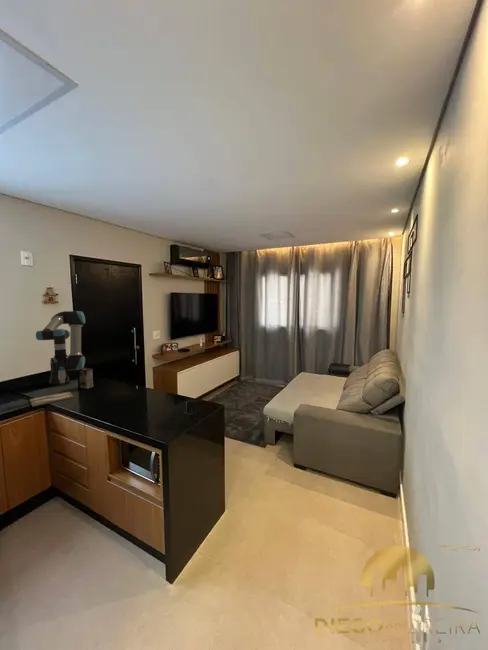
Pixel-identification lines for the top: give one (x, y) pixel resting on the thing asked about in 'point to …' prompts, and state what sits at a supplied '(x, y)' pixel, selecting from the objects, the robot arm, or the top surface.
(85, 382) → the coffee box
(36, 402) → the writing board
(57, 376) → the robot arm
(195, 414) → the top surface
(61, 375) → the marker
